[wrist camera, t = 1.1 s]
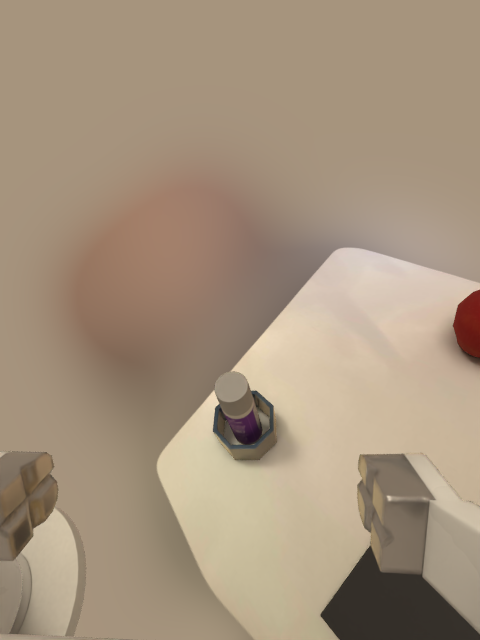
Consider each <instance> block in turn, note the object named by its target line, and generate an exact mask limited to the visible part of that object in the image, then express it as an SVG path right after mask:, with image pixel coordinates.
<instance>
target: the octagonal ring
mask: <svg viewBox="0 0 480 640" xmlns="http://www.w3.org/2000/svg"><path fill="white" fill-rule="evenodd" d="M251 393H252V396H253V398H254V402H255V405H256V408H257V407H259V408H260V409H261V410H262V411H263V412H264V413H265V414H266V415H267V416H268V417H269V418H270V429H269V430H268V431H267V432H266V433H265V434H264V435H263V436H262V437H261V438H260V439H259V440H258V441H257V442H256V443H255V444H254V445H231V444H230V443H229V442H228V441H227V440H226V439H225V438H224V429H225V421H226V420H227V419H226V417H225V415H224V413H223V411H222V408H221V406H220V404H219V405H218V406H216V408H215V416H214V425H213V432H214V434H215V435H216V437H217V439H218V440H219V442H220V443H221V445H222V446H223V447H224V448H225V449H226V450H227V451H228V452H229V454H230V455H231V456H232V457H233V458H234V459H235V460H260V459H261V458H262V457H263V456H264V455H265V454H266V453H267V452H268V450H269V449H270V448H271V447H272V446H273V445H274V444H275V443H276V442H277V436H276V416H275V411H274V406H273V405H272V404H271V403H270V402H269V401H267V400H266V399H265V398H264V397H263V396H262V395H261V394H260V393H258V392H257V391H251Z"/></svg>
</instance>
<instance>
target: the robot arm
mask: <svg viewBox="0 0 480 640" xmlns="http://www.w3.org/2000/svg"><path fill="white" fill-rule="evenodd" d="M53 468H54V463H53V459H52V456H51V455H50V454H48V453H47V452H10V451H0V640H128V639H108V638H87V637H67V636H46V635H24V634H18V632H19V630H20V628H21V625H22V623H23V621H24V618H25V615H26V612H27V609H28V605H29V601H30V596H31V584H32V581H31V572H30V567H29V565H28V562H27V560H26V559H25V557H24V556H23V555H22V554H21V553H20V552H21V551H22V550H23V548H24V547H25V546H26V545H27V543H28V542H29V541H30V540H31V538H32V537H33V528H35V527H36V526H38V525H40V524H41V523H43V522H44V521H46V519H47V518H48V517H49V516H50V514H51V513H52V512H53V509H54V507H55V504H56V501H57V498H58V485H57V481H56V480H55V479H54V478H53V477H52V475H51V474H50V473H51V471H52V470H53ZM358 470H359V472H360V475H361V477H362V480H361V481H360V483H359V484H358V485H357V499H358V507H359V512H360V516H361V520H362V523H363V526H364V528H365V529H366V530H368V531H369V532H370V533H371V543H370V545H371V547H372V550H373V553H374V555H375V558H376V561H377V563H378V566H379V569H380V571H381V572H385V573H402V574H418V575H423V576H422V577H423V578H424V579H425V580H426V581H427V582H428V583H429V584H430V585H431V586H432V587H433V588H434V589H435V590H436V591H437V592H438V593H439V594H440V595H441V596H442V597H443V598H444V599H445V600H446V601H447V602H448V603H449V604H450V605H451V606H452V607H453V608H454V609H455V610H456V611H457V612H458V613H459V614H460V615H461V616H462V617H463V618H464V619H465V620H466V621H467V622H468V623H469V624H470V625H471V626H472V627H473V628H474V629H475V630H476V631H477V632H478V633H479V634H480V506H479V505H477V504H475V503H473V502H471V501H463V500H462V499H461V497H460V496H459V495H458V494H457V492H456V491H455V490H454V489H453V488H452V486H451V485H450V484H449V483H448V481H447V480H446V479H445V478H444V476H443V475H442V474H441V473H440V472H439V470H438V469H437V468H436V467H435V465H434V464H433V463H432V462H431V460H430V459H429V458H428V457H427V456H426V455H425V454H423V453H407V454H366V455H360V457H359V462H358Z"/></svg>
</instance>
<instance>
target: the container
mask: <svg viewBox="0 0 480 640" xmlns="http://www.w3.org/2000/svg"><path fill="white" fill-rule="evenodd" d="M214 390H215V394H216V396H217V399H218V401H219V403H220V406H221V408H222V411H223V413H224V415H225V417H226V419H227V421H228V423H229V425H230V427H231V429H232V431H233V433H234V435H235V437H236V439H237V440H238V441H239V442H240V443H241V444H244V445H251V444H254V443H256V442H257V441H258V440H259V439H260V437H261V435H262V425H261V422H260V419H259V415H258V412H257V408H256V405H255V402H254V398H253V396H252V393H251V390H250V387H249V384H248V382H247V379H246V378H245V376H244V375H242V374H241V373H239V372H227V373H225V374H223V375H222V376H220V377H219V378H218V379H217V381H216V383H215V387H214Z"/></svg>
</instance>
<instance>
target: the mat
mask: <svg viewBox="0 0 480 640" xmlns="http://www.w3.org/2000/svg"><path fill="white" fill-rule="evenodd" d="M422 576H423V575H418V574H402V573H385V572H381V571H380V569H379V566H378V563H377V561H376V558H375V555H374V553H373V550H372V547H371V545H370V547H369V548H368V549H367V551H366V552H365V554H364V555H363V556H362V558H361V559H360V561H359V562H358V563H357V565H356V566H355V568H354V569H353V570H352V572H351V573H350V574H349V576H348V577H347V579H346V580H345V581H344V583H343V584H342V586H341V587H340V588H339V590H338V591H337V593H336V594H335V595H334V597H333V598H332V600H331V601H330V602H329V604H328V605H327V606H326V608H325V609H324V611H323V612H322V613H321V617H322V618H323V619H324V621H325V622H326V623H327V624H328V626H329V627H330V628H331V629H332V631H333V632H334V633H335V634H336V636H337V637H338V638H339V639H340V640H480V634H479V633H478V632H477V631H476V630H475V629H474V628H473V627H472V626H471V625H470V624H469V623H468V622H467V621H466V620H465V619H464V618H463V617H462V616H461V615H460V614H459V613H458V612H457V611H456V610H455V609H454V608H453V607H452V606H451V605H450V604H449V603H448V602H447V601H446V600H445V599H444V598H443V597H442V596H441V595H440V594H439V593H438V592H437V591H436V590H435V589H434V588H433V587H432V586H431V585H430V584H429V583H428V582H427V581H426V580H425V579H424V578H423V577H422Z"/></svg>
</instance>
